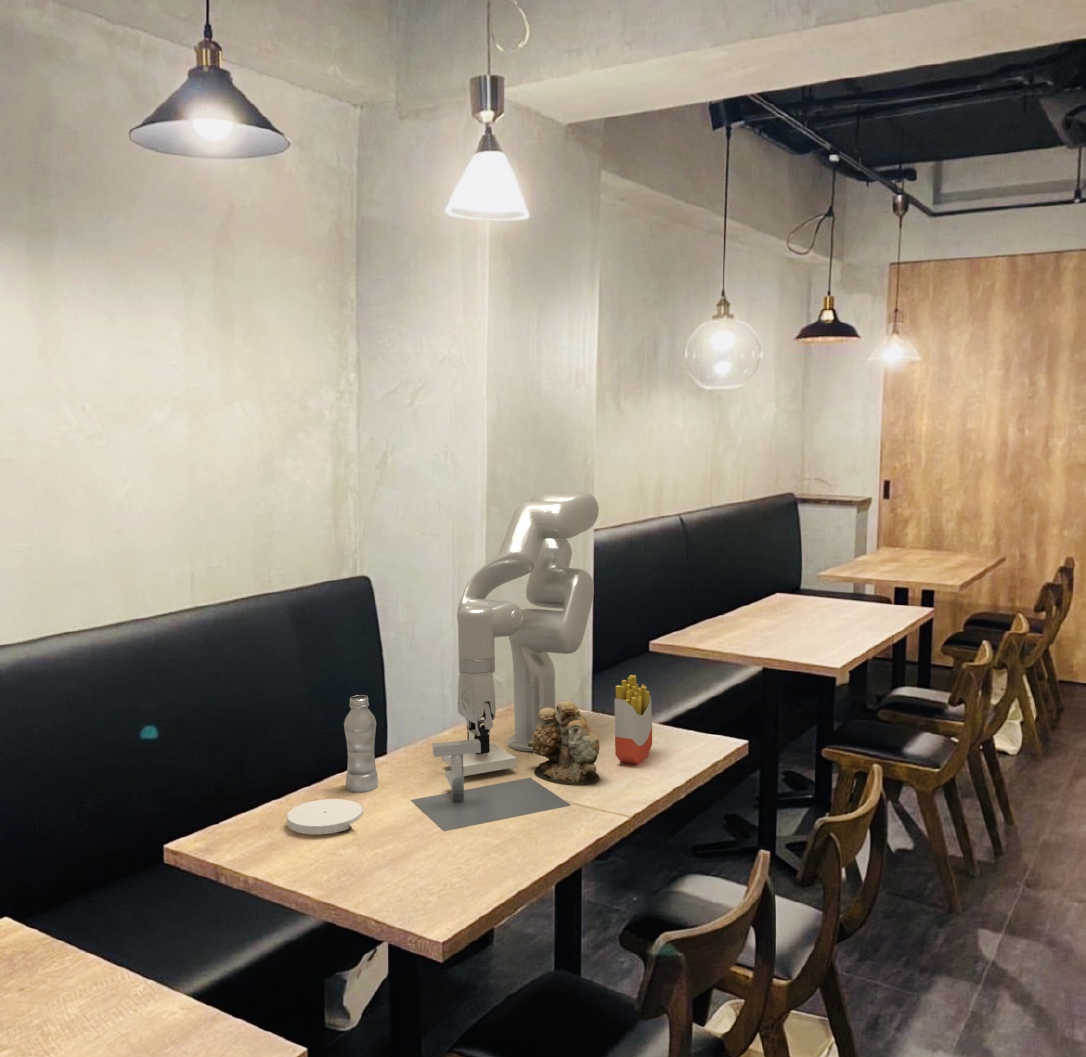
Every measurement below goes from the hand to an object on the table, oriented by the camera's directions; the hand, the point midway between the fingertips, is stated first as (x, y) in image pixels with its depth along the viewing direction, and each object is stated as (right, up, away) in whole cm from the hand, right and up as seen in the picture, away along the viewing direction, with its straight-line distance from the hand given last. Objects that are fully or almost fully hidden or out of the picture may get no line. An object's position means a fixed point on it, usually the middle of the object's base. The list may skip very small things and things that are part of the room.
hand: (478, 750), depth 223 cm
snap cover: (0, -3, 0) cm, 3 cm away
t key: (-4, -6, -15) cm, 16 cm away
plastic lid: (-27, -9, -24) cm, 37 cm away
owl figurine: (+18, -6, -4) cm, 19 cm away
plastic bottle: (-23, -7, -8) cm, 26 cm away
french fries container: (+34, -4, +10) cm, 35 cm away
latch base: (+3, -8, -19) cm, 21 cm away
